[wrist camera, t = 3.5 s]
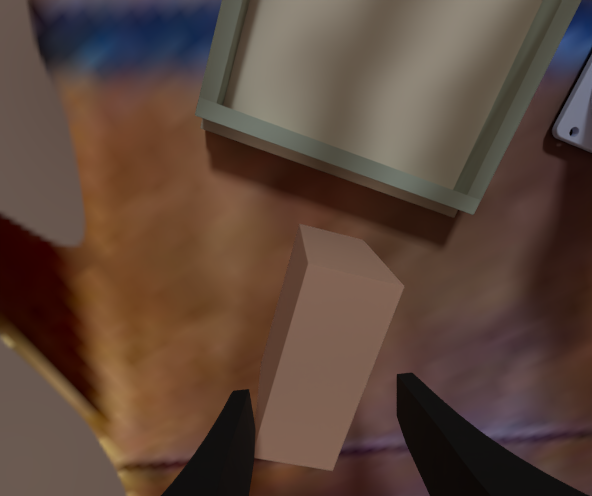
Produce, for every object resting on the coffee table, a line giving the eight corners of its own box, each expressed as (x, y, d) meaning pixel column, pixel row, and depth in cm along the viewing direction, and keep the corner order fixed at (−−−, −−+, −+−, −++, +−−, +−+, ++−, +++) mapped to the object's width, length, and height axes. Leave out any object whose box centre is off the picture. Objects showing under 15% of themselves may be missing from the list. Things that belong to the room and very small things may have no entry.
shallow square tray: (571, -49, 16) (624, -86, 13) (445, 214, 19) (468, 223, 17) (284, -194, 14) (284, -267, 11) (204, 129, 17) (192, 126, 15)
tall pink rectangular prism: (362, 239, 20) (404, 286, 13) (317, 374, 22) (332, 470, 16) (299, 223, 19) (308, 263, 12) (261, 363, 22) (251, 457, 15)
